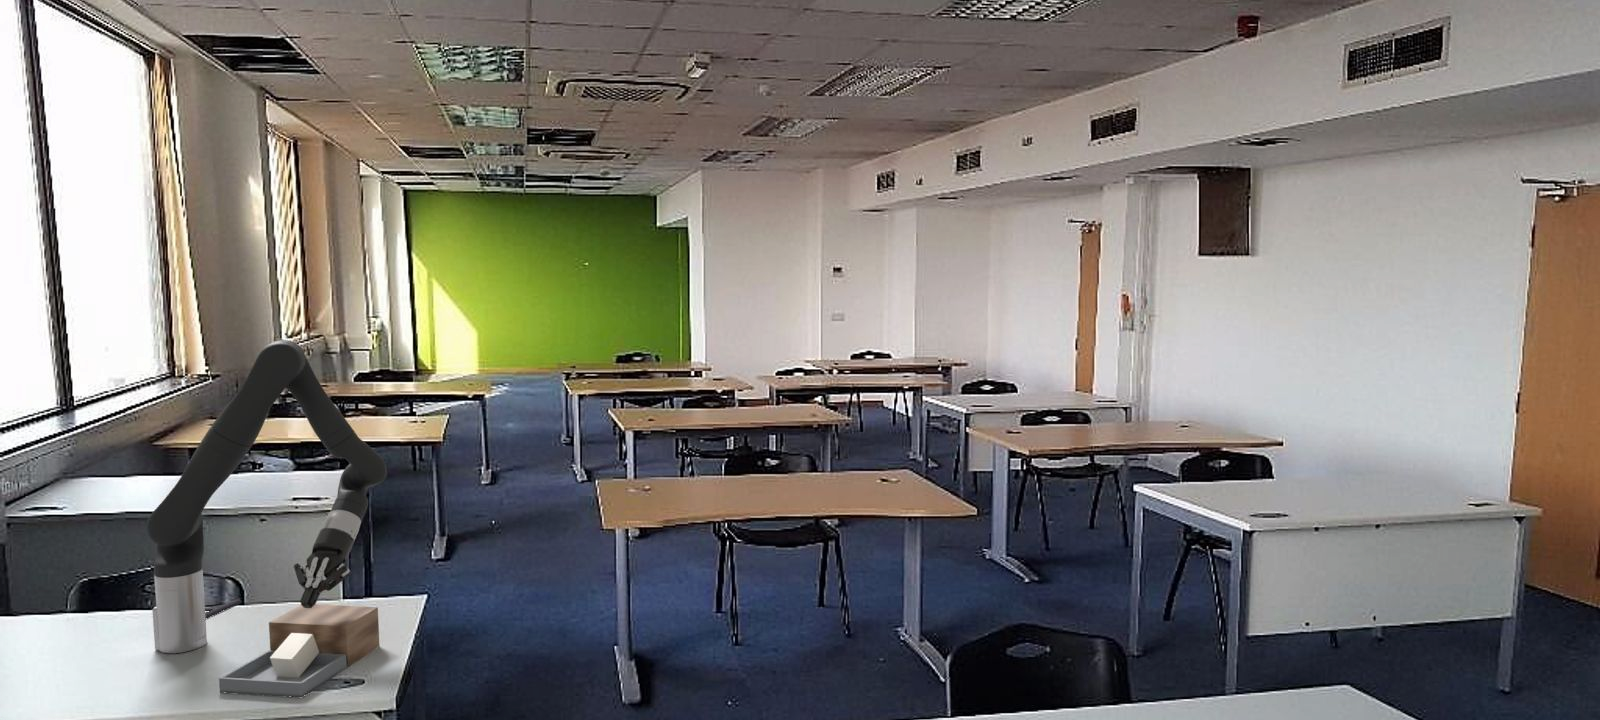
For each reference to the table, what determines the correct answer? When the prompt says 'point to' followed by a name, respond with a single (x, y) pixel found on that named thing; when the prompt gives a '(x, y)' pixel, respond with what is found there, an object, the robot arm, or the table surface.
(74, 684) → the table surface
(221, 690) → the box
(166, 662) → the table surface
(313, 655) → the cream block
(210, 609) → the bracket
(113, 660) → the table surface
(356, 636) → the walnut platform
